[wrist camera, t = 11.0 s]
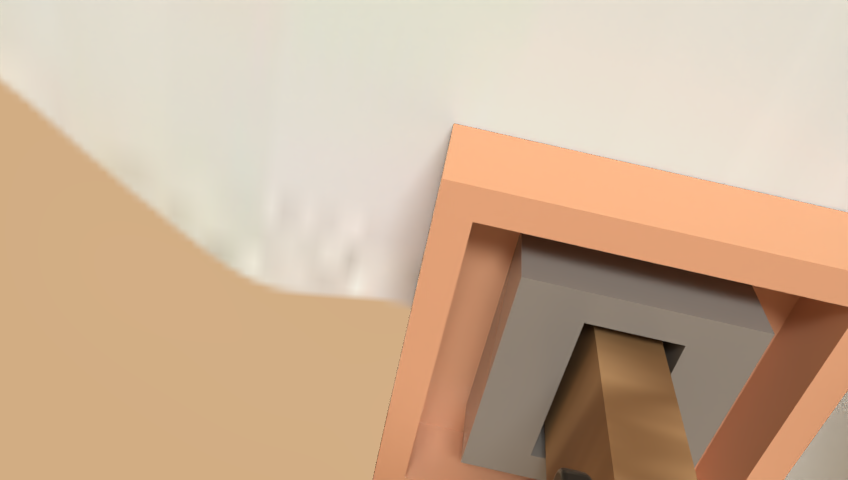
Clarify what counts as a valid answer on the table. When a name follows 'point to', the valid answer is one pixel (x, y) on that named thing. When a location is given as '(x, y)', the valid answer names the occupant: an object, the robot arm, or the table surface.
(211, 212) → the table surface
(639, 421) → the wooden block
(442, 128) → the table surface
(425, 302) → the candle dish
